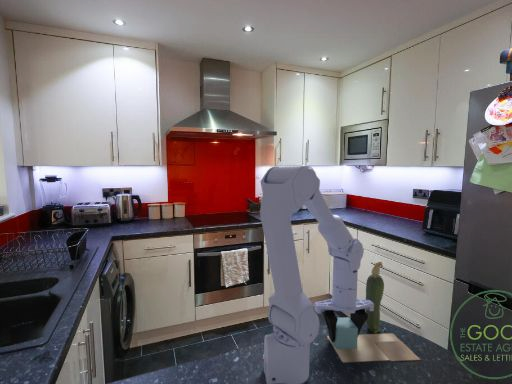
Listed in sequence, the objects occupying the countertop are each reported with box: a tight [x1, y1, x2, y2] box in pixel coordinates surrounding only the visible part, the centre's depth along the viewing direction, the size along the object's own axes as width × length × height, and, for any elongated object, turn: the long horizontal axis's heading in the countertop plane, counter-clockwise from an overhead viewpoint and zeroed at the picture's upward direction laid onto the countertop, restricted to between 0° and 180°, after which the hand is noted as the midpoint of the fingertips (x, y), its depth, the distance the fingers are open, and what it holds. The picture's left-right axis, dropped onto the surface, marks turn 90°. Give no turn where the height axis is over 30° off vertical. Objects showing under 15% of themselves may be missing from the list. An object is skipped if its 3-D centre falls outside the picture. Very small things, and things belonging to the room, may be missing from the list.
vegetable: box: [365, 261, 385, 334], centre depth 73 cm, size 4×4×20 cm
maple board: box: [326, 332, 421, 363], centre depth 65 cm, size 18×10×1 cm, turn 95°
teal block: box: [333, 316, 358, 349], centre depth 67 cm, size 5×5×5 cm
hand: (342, 338), depth 67 cm, fingers closed on teal block, 5 cm apart
